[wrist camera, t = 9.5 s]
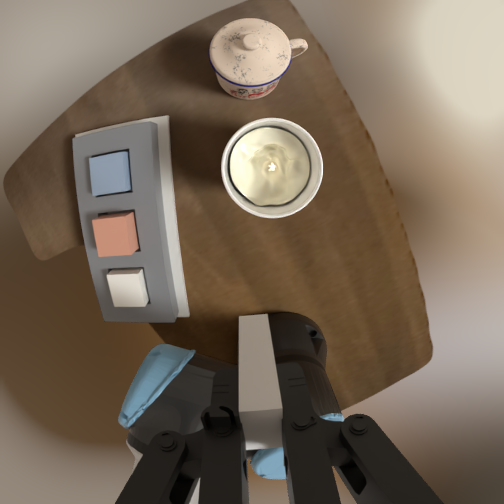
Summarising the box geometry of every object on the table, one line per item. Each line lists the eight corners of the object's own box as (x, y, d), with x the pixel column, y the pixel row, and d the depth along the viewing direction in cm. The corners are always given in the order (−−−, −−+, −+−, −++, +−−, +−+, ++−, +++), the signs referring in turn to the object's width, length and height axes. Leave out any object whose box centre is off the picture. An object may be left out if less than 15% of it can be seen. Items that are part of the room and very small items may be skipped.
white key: (150, 297, 40) (145, 306, 38) (121, 297, 40) (114, 306, 38) (144, 265, 39) (138, 273, 36) (114, 267, 39) (106, 274, 36)
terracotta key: (139, 247, 37) (131, 255, 34) (107, 249, 37) (98, 257, 34) (133, 211, 35) (125, 216, 33) (101, 215, 35) (92, 220, 32)
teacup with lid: (228, 111, 35) (223, 91, 24) (205, 56, 32) (193, 22, 21) (310, 85, 34) (336, 60, 23) (286, 32, 31) (301, -6, 20)
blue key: (133, 188, 35) (125, 191, 33) (102, 192, 35) (92, 195, 32) (130, 151, 34) (122, 151, 31) (99, 157, 34) (89, 158, 31)
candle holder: (299, 200, 39) (322, 217, 28) (228, 202, 39) (223, 220, 28) (298, 130, 36) (322, 118, 25) (225, 131, 36) (219, 119, 25)
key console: (189, 314, 44) (185, 327, 41) (107, 314, 44) (98, 326, 40) (169, 116, 35) (161, 111, 31) (77, 134, 35) (64, 133, 31)
